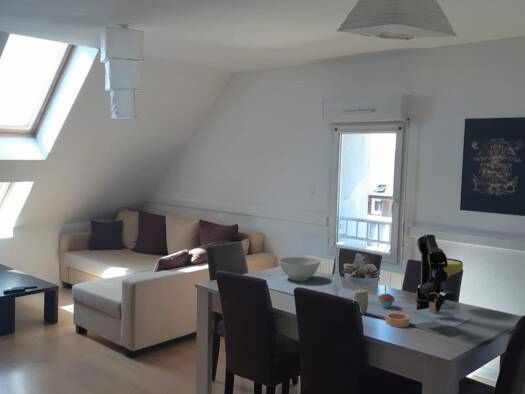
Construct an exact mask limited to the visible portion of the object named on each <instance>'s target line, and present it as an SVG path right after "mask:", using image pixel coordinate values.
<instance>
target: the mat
mask: <svg viewBox="0 0 525 394" xmlns="http://www.w3.org/2000/svg"><path fill="white" fill-rule="evenodd" d="M411 326H412V327H415V328H417V329H420V330H422V331H425V332H427V333H429V334H432V335H436V334H442V333H448V332H452V331H453V332H454V331H458V329H457V328H453V327H451V326H449V325H447V324H444V323H441V322H438V321H436V320H433V321H427V322H420V323H414V324H411Z"/></svg>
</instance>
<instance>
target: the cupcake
mask: <svg viewBox="0 0 525 394" xmlns="http://www.w3.org/2000/svg"><path fill="white" fill-rule="evenodd" d="M378 301H379V302H380V305H381V307H382V308H384V309H390V308H391V306H392V305H393V303H394V302H395V297H394V296H393V295H391V293H387V287H386V285H384V293H382V294H380V295H378Z"/></svg>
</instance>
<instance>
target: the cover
mask: <svg viewBox="0 0 525 394" xmlns="http://www.w3.org/2000/svg"><path fill="white" fill-rule="evenodd" d="M414 313H415V314H418V315H421V316H424V317H427V318H429V319H431V320H440V319H446V318H451V317H452V318H453V317H456V314H455V313H452V312H449V311H446V310H445V309H444V310H443V309H442V308H440V309H439V311H437V309H436V300H435V301H430V302H429V308H428V309H421V310H417V309H415V310H414Z"/></svg>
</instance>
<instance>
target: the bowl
mask: <svg viewBox="0 0 525 394" xmlns="http://www.w3.org/2000/svg"><path fill="white" fill-rule="evenodd" d="M410 321H411V317H410V316H409V315H407V314H405V313H400V312H390V313H389V312H388V313H387V314H385V323H386V324H387V325H388V326H390V327H396V328H405V327H406V328H407V327H408V326H410V325H411V322H410Z"/></svg>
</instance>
